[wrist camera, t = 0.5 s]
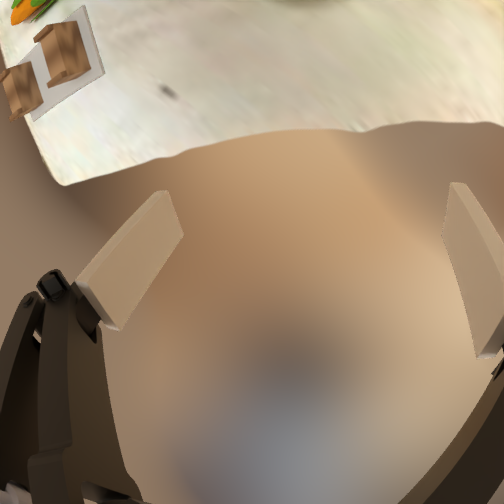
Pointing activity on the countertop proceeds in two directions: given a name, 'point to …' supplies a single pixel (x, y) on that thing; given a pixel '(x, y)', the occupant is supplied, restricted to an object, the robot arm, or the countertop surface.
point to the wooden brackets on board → (58, 62)
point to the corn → (25, 9)
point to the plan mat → (70, 87)
